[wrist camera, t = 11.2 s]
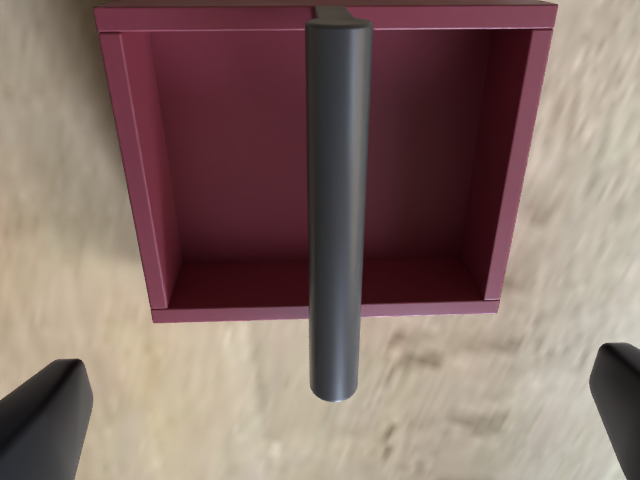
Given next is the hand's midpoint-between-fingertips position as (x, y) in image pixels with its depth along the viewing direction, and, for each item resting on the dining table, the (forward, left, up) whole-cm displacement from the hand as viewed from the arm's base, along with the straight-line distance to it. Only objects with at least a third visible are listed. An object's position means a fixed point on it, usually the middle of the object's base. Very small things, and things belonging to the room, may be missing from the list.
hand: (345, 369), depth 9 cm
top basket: (0, 0, -11) cm, 11 cm away
